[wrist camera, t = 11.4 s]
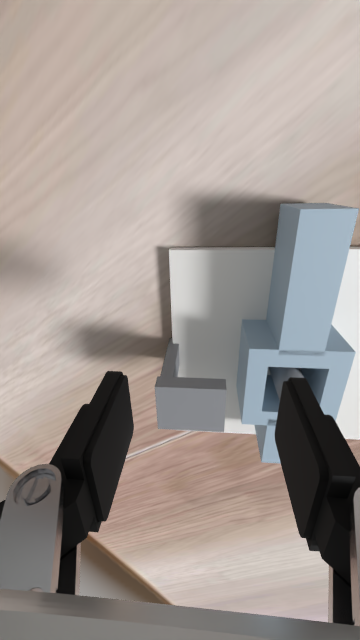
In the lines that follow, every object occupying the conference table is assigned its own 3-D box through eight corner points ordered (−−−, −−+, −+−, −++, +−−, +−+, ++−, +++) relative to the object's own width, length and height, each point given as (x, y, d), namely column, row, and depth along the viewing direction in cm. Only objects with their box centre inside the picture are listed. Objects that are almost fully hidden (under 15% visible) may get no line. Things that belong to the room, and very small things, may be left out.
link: (305, 423, 30) (322, 465, 25) (233, 419, 30) (238, 460, 26) (356, 202, 20) (398, 208, 16) (251, 204, 21) (263, 209, 17)
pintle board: (165, 247, 24) (146, 277, 16) (423, 246, 22) (535, 278, 15) (173, 422, 33) (163, 494, 25) (359, 432, 31) (408, 513, 23)
